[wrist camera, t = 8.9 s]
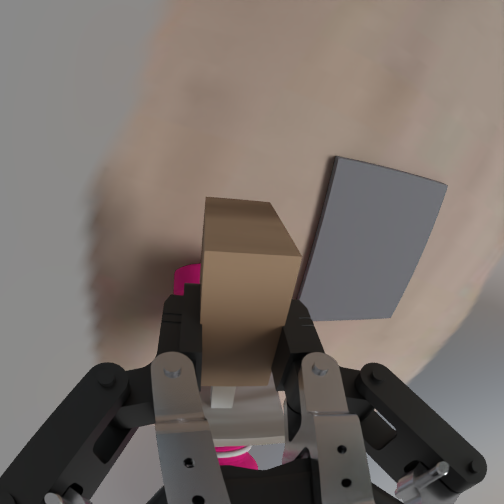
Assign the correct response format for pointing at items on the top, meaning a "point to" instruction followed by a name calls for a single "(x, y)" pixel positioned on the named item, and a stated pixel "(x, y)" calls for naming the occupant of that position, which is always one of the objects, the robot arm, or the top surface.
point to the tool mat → (368, 240)
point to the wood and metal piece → (243, 318)
